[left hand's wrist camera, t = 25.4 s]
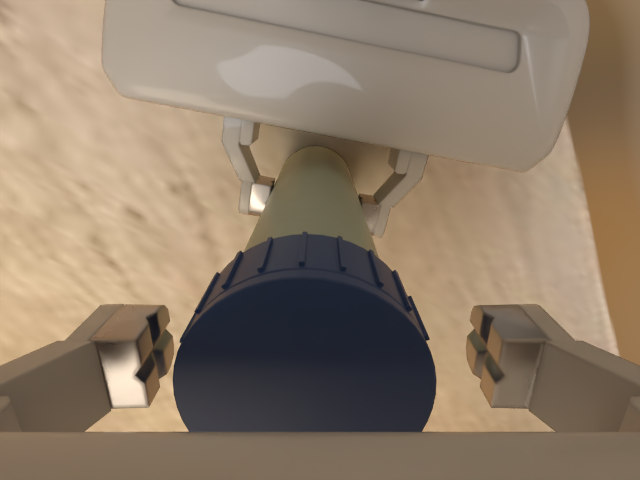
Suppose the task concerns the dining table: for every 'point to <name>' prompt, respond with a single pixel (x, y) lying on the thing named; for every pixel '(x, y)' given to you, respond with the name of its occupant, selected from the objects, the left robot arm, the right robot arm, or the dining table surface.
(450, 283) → the dining table surface
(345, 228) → the green bottle
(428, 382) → the lid
